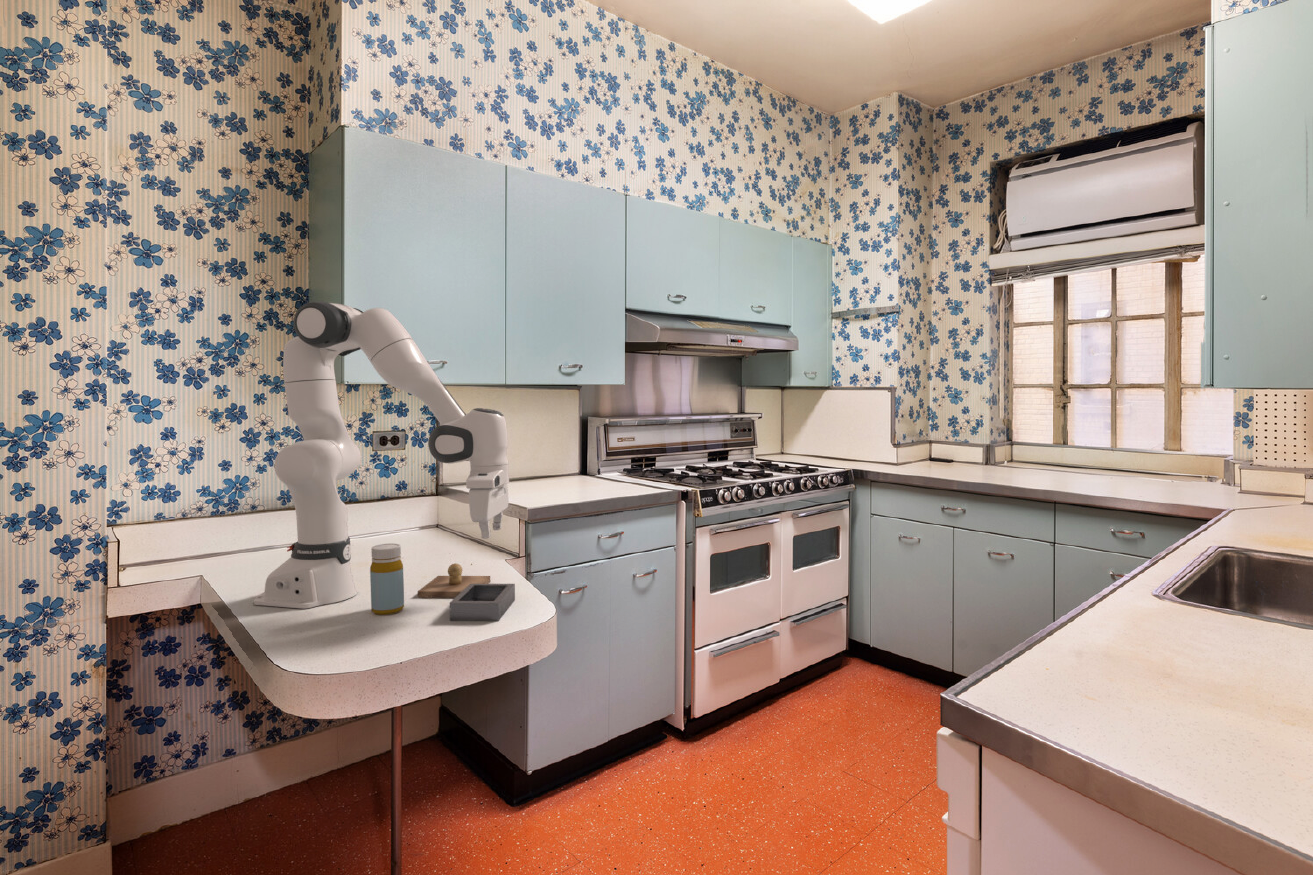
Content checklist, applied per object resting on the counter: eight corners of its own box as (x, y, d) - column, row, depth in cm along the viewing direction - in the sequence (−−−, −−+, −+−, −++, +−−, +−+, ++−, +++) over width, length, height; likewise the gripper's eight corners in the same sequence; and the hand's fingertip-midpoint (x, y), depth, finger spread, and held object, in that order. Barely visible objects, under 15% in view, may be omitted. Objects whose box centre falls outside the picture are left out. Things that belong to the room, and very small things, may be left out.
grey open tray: (449, 620, 144) (449, 602, 144) (470, 599, 159) (470, 583, 159) (498, 620, 144) (498, 603, 144) (515, 599, 159) (514, 583, 158)
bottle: (392, 616, 147) (390, 550, 146) (364, 614, 148) (362, 549, 147) (410, 606, 154) (408, 543, 153) (383, 605, 155) (381, 542, 154)
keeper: (417, 597, 161) (417, 570, 160) (438, 581, 175) (437, 556, 174) (474, 597, 160) (473, 571, 160) (490, 581, 174) (489, 557, 174)
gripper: (489, 471, 167) (490, 525, 167) (463, 482, 146) (465, 543, 147) (513, 471, 166) (515, 525, 167) (491, 481, 146) (493, 543, 147)
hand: (491, 533), depth 157 cm, fingers open, 8 cm apart
